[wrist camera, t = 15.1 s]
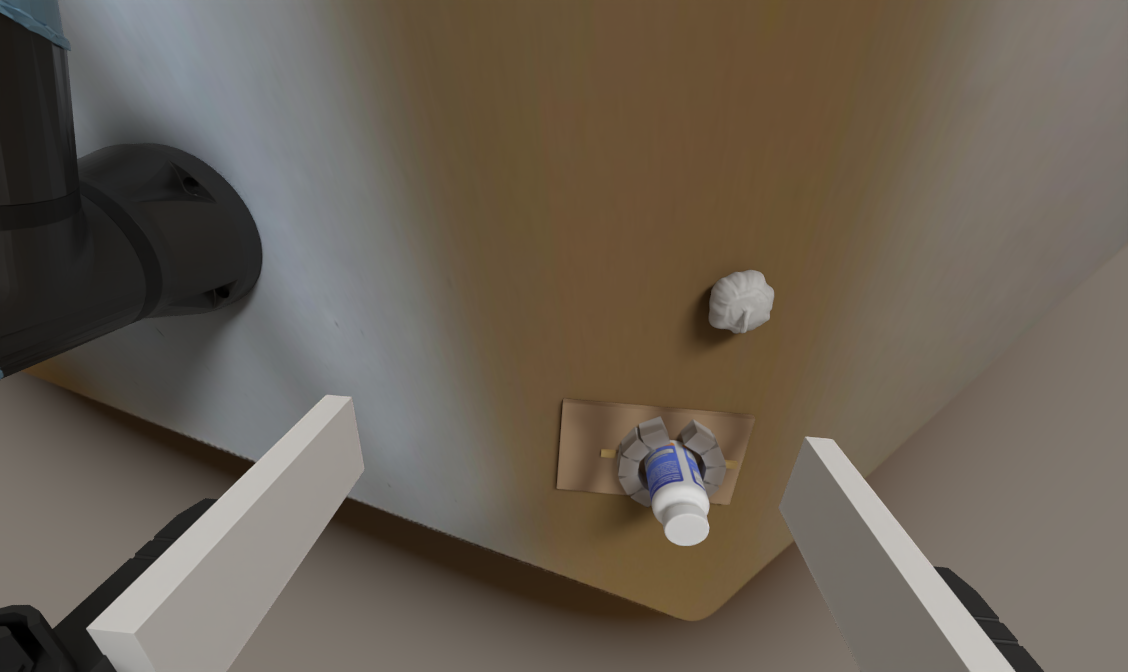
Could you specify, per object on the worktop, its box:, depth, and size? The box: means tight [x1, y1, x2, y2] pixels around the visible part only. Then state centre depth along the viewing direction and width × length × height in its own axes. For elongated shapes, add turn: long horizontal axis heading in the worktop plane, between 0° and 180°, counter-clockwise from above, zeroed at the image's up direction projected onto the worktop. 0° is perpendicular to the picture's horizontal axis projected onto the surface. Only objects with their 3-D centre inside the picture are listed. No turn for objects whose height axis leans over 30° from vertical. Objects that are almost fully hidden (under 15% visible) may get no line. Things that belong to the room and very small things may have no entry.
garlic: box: [709, 270, 774, 333], centre depth 38 cm, size 6×5×5 cm
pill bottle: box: [644, 440, 709, 546], centre depth 43 cm, size 5×5×10 cm
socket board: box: [557, 398, 755, 507], centre depth 47 cm, size 20×12×3 cm, turn 86°
